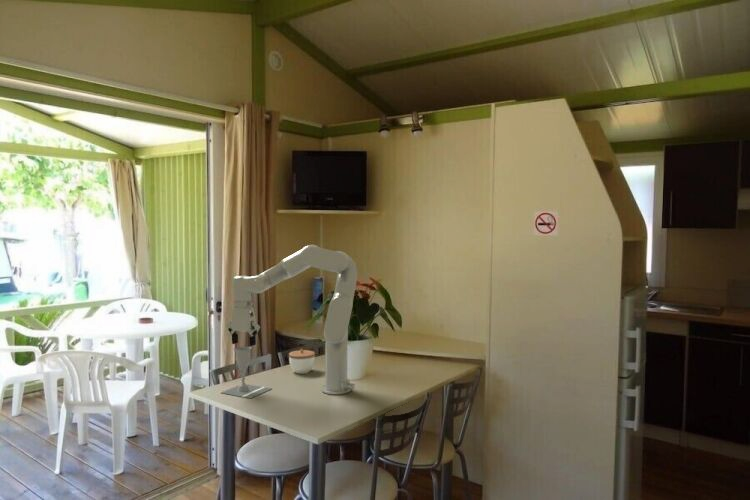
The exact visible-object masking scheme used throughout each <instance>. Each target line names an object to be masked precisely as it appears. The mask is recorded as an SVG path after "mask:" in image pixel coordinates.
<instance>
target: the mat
mask: <svg viewBox="0 0 750 500" xmlns="http://www.w3.org/2000/svg"><path fill="white" fill-rule="evenodd" d="M246 384H247V383H246ZM239 385H240V384H239ZM239 385H236V386H233V387H231V388H229V389H226V390H223V391H222V392H220V394H223V395H228V396H233V397H238V398H244V399H249V400H250V399H254V398H255V397H257V396H261V395H262V394H264V393H266V392H269V391H271V390H273V388H270V387H266V386H260V385H259V386H258V385H253V384H247V385H248V388H249V390H248V391H245V392H239V391H237V390H238V387H239Z"/></svg>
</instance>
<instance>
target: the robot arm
mask: <svg viewBox="0 0 750 500" xmlns="http://www.w3.org/2000/svg"><path fill="white" fill-rule="evenodd" d="M312 267H313V268H316V269H319V270H324V271H328V272H332V273H337V278H336V282H335V288H334V292H333V296H332V298H331V300H330V302H329V305H328V308H327V313H326V318H325V323H324V327H323V328H324V329H323V337H324V339H325V345H324V346H325V347H324V348H325V349H324V351H325V354H324V355H325V358H324V359H325V362H324V363H325V368H324V369H325V373H324V374H325V378H324V379H325V384H324V385H323V386H322V388H321V392H322V393H325V394H327V395H344V394H347V393H350V392H351V391H352V390H354V391H355V389H356V384H355V383H351V381H350V380H351V379H348V378H349V377H348V350H349V349H348V345H349V344H348V343H349V342H348V338H349V325H350V319H351V315H352V311H353V310H352V309H353V305H354V297H355V291H356V287H357V281H358V269H357V265H356V262H355V261H354V260H353V258H352V257H351V256H350V255H348V254H347V253H346V252H344V251H341V250H337V251H336V250H331V249H327V248H323V247H319V246H318V245H316V244H308V245H306V246H304V247H303V248H302V249H300V250H298V251H296V252H294V253H293V254H290V255H289V256H287V257H285V258H283V259H282V260H281V261H280V262H279V263H278V264H275V265H274V266H272V267H271V268H268V269H267V270H265V271H263V272H262V273H260V274H256V275H255V276H254V275H253V276H248V275H236V276H234V277H232V300H233V301H232V303H233V304H232V305H233V307H232V311H231V317H230V318H231V321H229V322H228V323H226V327H227V329H228V332H229V333H230V334H229V335H230V336H231V344H232V345H235V344H238V343H239V335H238V334H239V333H238V332H242V333H248V334H249V335H250V336H249V347H253V346H255V345H256V343H257V338H256V337H257V335H258V333H259V331H260V329H261V325H259V324H258V323H257V320H256V314H255V310H254V307H252V306H253V305H254V302H252V294H262V293H264V292H265V291H267V290H270V289H271V288H272V287H274V286H276V285H278V284H279V283H281V282H283V281H285V280H288V279H292V278H294V277H295V276H297V275H298V274H301V273H303V272H305V271H306V270H307V269H309V268H312Z"/></svg>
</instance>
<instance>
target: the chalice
mask: <svg viewBox="0 0 750 500" xmlns="http://www.w3.org/2000/svg"><path fill="white" fill-rule="evenodd" d="M251 350H252V346H238V347H235V348H234V351H235V362H236V366H237V367H238V369H239V370H240V371H241V374H240V375H241V378H240V379H241V383H240V384H239V387H238V390H237V391H239V392H245V391H248V390H249V388H248V385H249V384H248V385H247V383H245V379H246V377H245V375H246V373H245V371H246V370H247V368H248V366H249V365H250V362H251Z"/></svg>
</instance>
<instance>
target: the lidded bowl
mask: <svg viewBox="0 0 750 500" xmlns="http://www.w3.org/2000/svg"><path fill="white" fill-rule="evenodd" d="M315 356H316V352H315V351H314V350H307V349H303V348H301V349H299V350H294V351H290V352H289V353H288V358H289V360H288V361H289V365H290V368H291V369H292V370H293V371H294V373H295V374H300V375H301V374H302V375H303V374H308V373H309V372H310V371H312V369H313V367H314V365H315V360H316V357H315Z"/></svg>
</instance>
